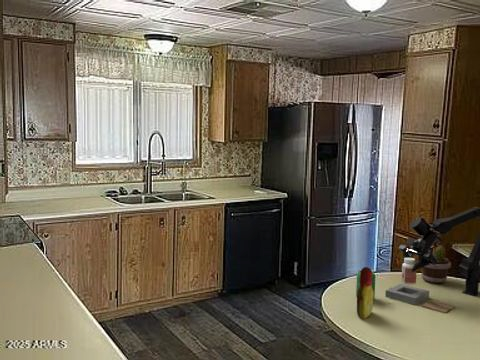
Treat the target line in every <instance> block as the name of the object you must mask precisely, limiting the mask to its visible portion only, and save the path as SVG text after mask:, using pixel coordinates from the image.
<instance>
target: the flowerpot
mask: <svg viewBox="0 0 480 360" xmlns="http://www.w3.org/2000/svg"><path fill="white" fill-rule="evenodd" d="M428 252H430V253H431V251H430V250H429V251H428ZM446 254H447V251H446V248H444V246H443V245H442V244H439V245H438V246H435V248H434V251H433V255H434V256H435V257H436V259H437V263H436V265H432V264H430V263H429V264H430V265H427V266H424V267H422V268H421V271H422V272H421V274H420V275H421V279H423V281H424V282H426V283H430V284H436V285H437V284H444V283H445V282H446V281H447V278H448V276H447V274H448V271H449V269H450V268H451V267H452V266H451V265H452V263H451V262H450V260H449V259H448V258H447V257H445V256H446Z"/></svg>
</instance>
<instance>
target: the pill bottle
mask: <svg viewBox="0 0 480 360" xmlns="http://www.w3.org/2000/svg"><path fill="white" fill-rule="evenodd" d="M404 262H405V263H403V264H402V263H401V264H402V267H401V284H402V283H403V285H408V286H410V285H411V286H413V285H415V284H416V283H417V270H416V271H414V272H413V271H412V268H413V267H414V265H415V264H416V259H415V258H413V257H411V258H404Z"/></svg>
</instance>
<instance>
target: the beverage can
mask: <svg viewBox="0 0 480 360" xmlns="http://www.w3.org/2000/svg"><path fill="white" fill-rule="evenodd" d="M360 275H361V270H358V272H357V274H356V285H355V287H356V288H355V290H356V291H355V297H356V298H357V292H358V289H359V287H360ZM371 282H372V283H371V286H372V289H373V292H374V295H373V300H374V299H375V294H376V293H375V292H376V291H375V290H376V274H375V272H374V271H372V281H371Z"/></svg>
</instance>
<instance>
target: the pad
mask: <svg viewBox="0 0 480 360" xmlns="http://www.w3.org/2000/svg"><path fill="white" fill-rule="evenodd" d="M421 308H425V309H428V310H432V311H436V312H439V313H443V314H446V313H448V312H449V311H452V310H453V309H454V308H456V306H455V305H453V304H449V303H445V302H440V301H437V300H433V299H431V300H429V301H427V302H426V303H424V304H422V305H421Z"/></svg>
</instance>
